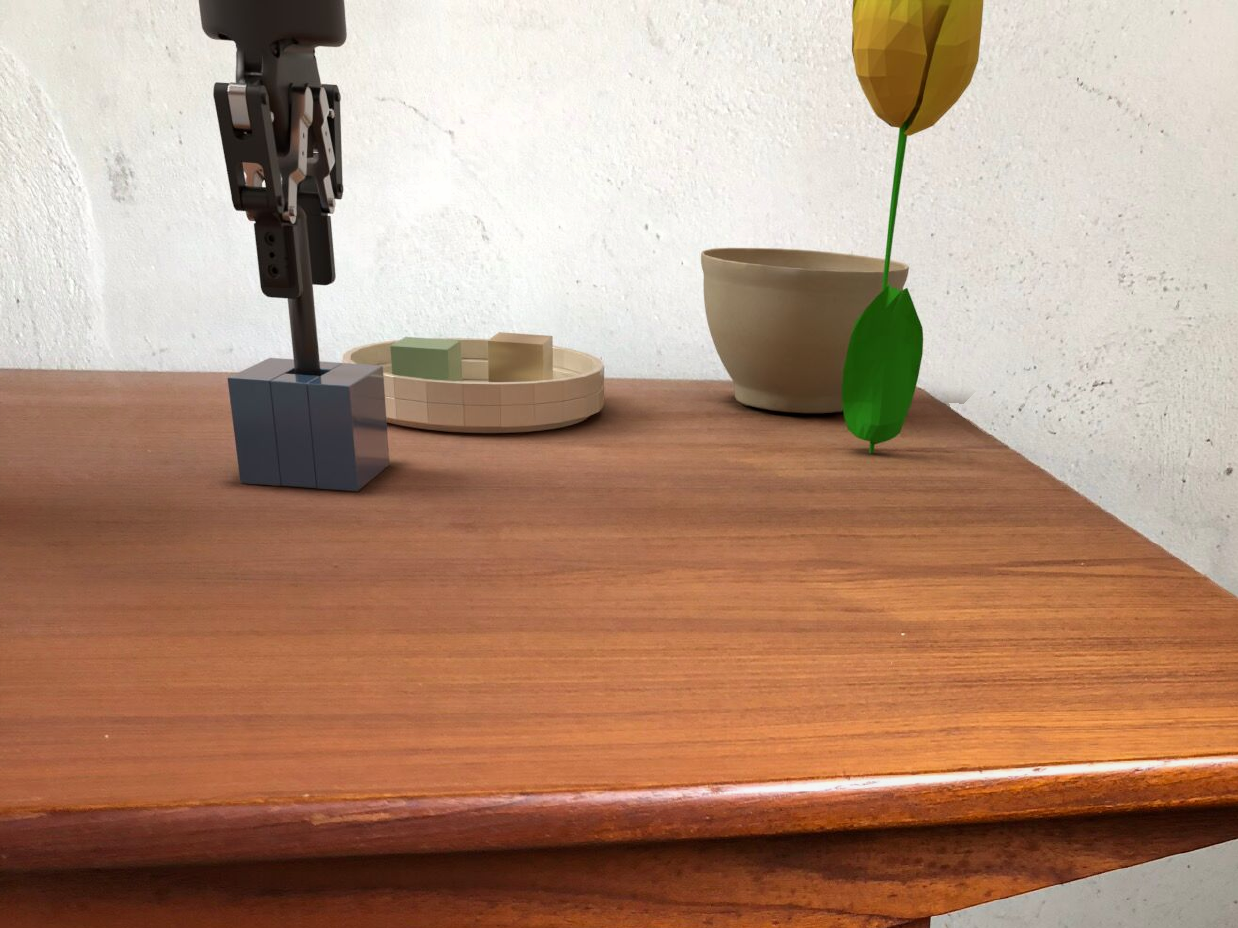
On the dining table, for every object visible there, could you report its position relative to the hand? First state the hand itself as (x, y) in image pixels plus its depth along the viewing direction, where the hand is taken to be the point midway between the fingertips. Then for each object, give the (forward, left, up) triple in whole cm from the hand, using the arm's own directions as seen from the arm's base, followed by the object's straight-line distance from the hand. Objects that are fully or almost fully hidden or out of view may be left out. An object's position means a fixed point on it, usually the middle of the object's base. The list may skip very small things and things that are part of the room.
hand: (300, 289), depth 83 cm
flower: (+35, +17, -11) cm, 40 cm away
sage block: (+2, +20, -10) cm, 23 cm away
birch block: (+8, +25, -10) cm, 28 cm away
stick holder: (0, 0, -10) cm, 10 cm away
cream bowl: (+5, +23, -10) cm, 26 cm away
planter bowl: (+29, +33, -11) cm, 45 cm away
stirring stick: (0, 0, -10) cm, 10 cm away
